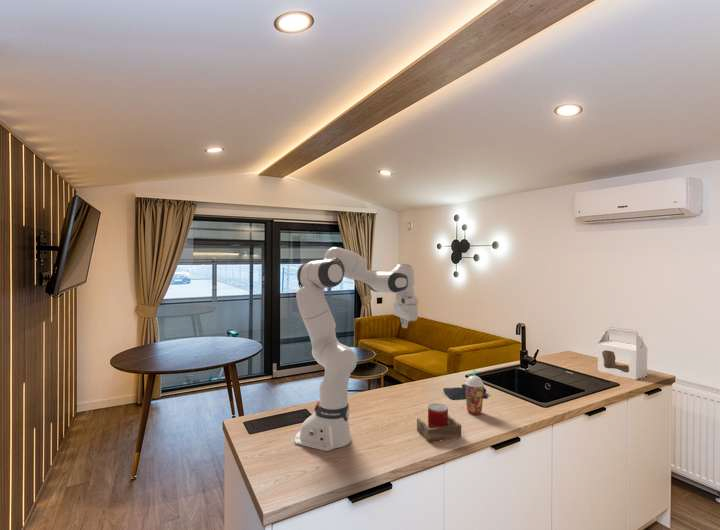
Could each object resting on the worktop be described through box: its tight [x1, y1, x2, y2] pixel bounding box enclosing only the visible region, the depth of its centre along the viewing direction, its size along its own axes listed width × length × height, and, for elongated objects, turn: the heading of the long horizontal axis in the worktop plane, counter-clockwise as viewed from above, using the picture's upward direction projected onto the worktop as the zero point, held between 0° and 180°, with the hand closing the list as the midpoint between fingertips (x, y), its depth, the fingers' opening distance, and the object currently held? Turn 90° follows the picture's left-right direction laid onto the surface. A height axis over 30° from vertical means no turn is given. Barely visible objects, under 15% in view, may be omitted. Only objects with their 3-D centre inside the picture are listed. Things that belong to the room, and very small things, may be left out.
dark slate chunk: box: [442, 383, 489, 401], centre depth 202 cm, size 15×22×5 cm
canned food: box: [427, 402, 449, 428], centre depth 157 cm, size 8×8×11 cm
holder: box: [416, 414, 462, 443], centre depth 157 cm, size 11×14×5 cm
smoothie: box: [464, 369, 485, 416], centre depth 178 cm, size 8×8×20 cm
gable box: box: [597, 326, 648, 380], centre depth 237 cm, size 22×13×28 cm, turn 31°
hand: (404, 327), depth 181 cm, fingers closed
